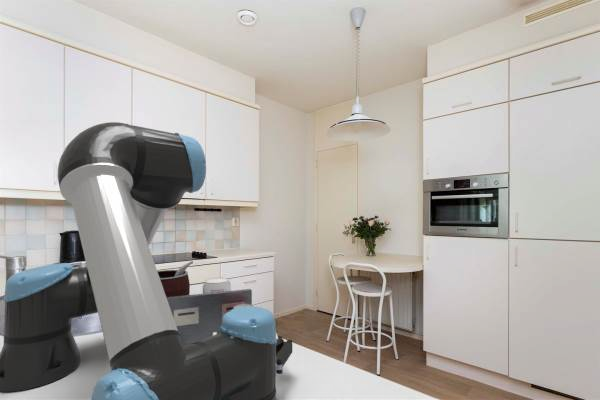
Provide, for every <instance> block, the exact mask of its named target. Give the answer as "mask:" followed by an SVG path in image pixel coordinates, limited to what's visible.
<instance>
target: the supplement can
mask: <svg viewBox="0 0 600 400" xmlns="http://www.w3.org/2000/svg"><path fill="white" fill-rule="evenodd" d="M224 291H232V284H231V282H230V279H229V278H227V277H211V278H208V279H205V280H204V283H203V286H202V294H204V293H214V292H224Z"/></svg>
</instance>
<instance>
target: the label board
mask: <svg viewBox="0 0 600 400" xmlns="http://www.w3.org/2000/svg"><path fill="white" fill-rule="evenodd" d="M252 293H253V291H252V289H251V288H247V289H245V288H244V289H237V290H235V289H233V290H231V291H224V292H214V293H204V294H203V293H196V294H195V293H194V294H189V295H184V296H174V297H166V298H167V301H168V304H169V306H170V309H171V312H172V315H173V318H174V321H175V324H176V327H177V329H178V332H179V335H180V336H181V339H182V342H183V345H184V346H185V345H189V344H191V343H194V342H197V341H200V340H202V339H205V338H208V337H211V336H213V332H217V334H219V333H221V328H220V327H221V325H222V318H223V316H224V315H225V314H226V313H227V312H229V311H230V310H232V309H233V308H234V306H236V305H240V304H250V305H253V301H252V300H253V297H252V296H253V294H252Z"/></svg>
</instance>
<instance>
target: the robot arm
mask: <svg viewBox="0 0 600 400" xmlns="http://www.w3.org/2000/svg"><path fill="white" fill-rule="evenodd" d="M206 161H207V160H206V155H205V152H204V149H203V147H202V146H201V143H199V141H198V140H197V139H196V138H194V137H191V136H188V135H183V134H180V133H179V132H175V133H173V132H167V131H164V130H163V131H162V130H158V129H154V128H149V127H144V126H143V127H142V126H138V125H134V124H133V125H132V124H129V123H125V122H119V121H118V122H116V121H113V122H111V121H110V122H102V123H99V124H95V125H92V126H91V127H88V128H86V129H84V130H82V131H81V132H79V133H78V134H77V135H76V136H75V137H74V138H73V139H72V140H70V142H69V143H68V144H67V145H66V146H65V148H64V151H63V152H62V154H61V156H60V159H59V162H58V166H57V182H58V186H59V191H60V194H61V197H63V199H64V200H65V201H67V202H68V203H69V204H71V205H72V210H73V213H74V217H75V223H76V225H77V226H76V227H77V230H78V234H79V239H80V243H81V247H82V251H83V255H84V260H85V264H86V266H85V267H83V266H82V267H77V268H74V266H73V265H72V264H71V263H70V262H69V263H68V262H62V263H56V264H55V263H52V264H47V265H41V266H38V267H37V266H36V267H33V268H28V269H25V270H22V271H19V272H17V273H15V274H13V275H11V276H9V278H8V279H7V280H6V282H5V289H4V295H3V302H4V316H3V317H4V319H3V320H4V322H3V323H4V324H3V345H2V348H1V350H0V392H2V393H4V392H5V393H7V392H18V391H25V390H29V389H33V388H38V387H41V386H44V385H47V384H51V383H53V382H55V381H58V380H60V379H62V378H64V377H66V376H68V375H69V374H71V373H72V372H74V371H75V370H76V369H77V368H78V367H79V366H80V363H81V353H80V349H79V347H78V344H77V342H76V339H75V337H74V335H73V332H72V320H73V319H77V318H80V317H84V316H89V315H93V314H98V319H99V322H100V326H101V331H102V336H103V339H104V342H105V344H104V345H105V348H106V352H107V355H108V360H109V364H110V370H111V371H110V372H109V373H107V374H105V375H103V376H102V377H100V378H99V380H97V382H96V383H95V385H94V388H93V391H92V395H91V400H277V388H276V387H277V386H276V384H277V383H276V381H277V379H276V378H277V375H283V368H284V366H285V365H286V363H287V361H289V358H290V357H291V355H292V354H293V340H292V339H287V340H286V341H285V340H284V339H283V336H282V335H278V334H277V328H276V318H275V315H274V314H273V312H272V311H270V309H267V308H264V307H260V306H254V305H253V306H254V307H253V306H248V307H239V308H235V309H232V310H230V311H229V312H227V313H226V314H225V315H224V316H223V318H222V325H221V327H220V328H221V333H219V334H217V332H213V336H211V337H208V338H205V339H202V340H200V341H197V342H194V343H191V344H189V345H185V346H184V345H183V342H182V339H181V336H180V335H179V332H178V329H177V327H176V324H175V321H174V318H173V315H172V312H171V309H170V306H169V304H168V301H167V298H166V295H165V292H164V289H163V286H162V283H161V281H160V278H159V275H158V272H157V271H158V269H157V267H156V264H155V260H154V259H153V254H152V252H151V249H150V245H151V242H153V238H154V237H155V235H156V233H157V231H158V230H159V227H160V226H161V223H162V221H163V219H164V217H165V215H166V213H167V211H168V210H169V209H173V208H175V207H177V206H178V205H179V203H180V202H181V201H182V199H183V196H184V195H185V193H190V194H193V193H196V192H198V191H200V190H201V188H202V187H203V185H204V183H205V180H206V175H207V164H206Z"/></svg>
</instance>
